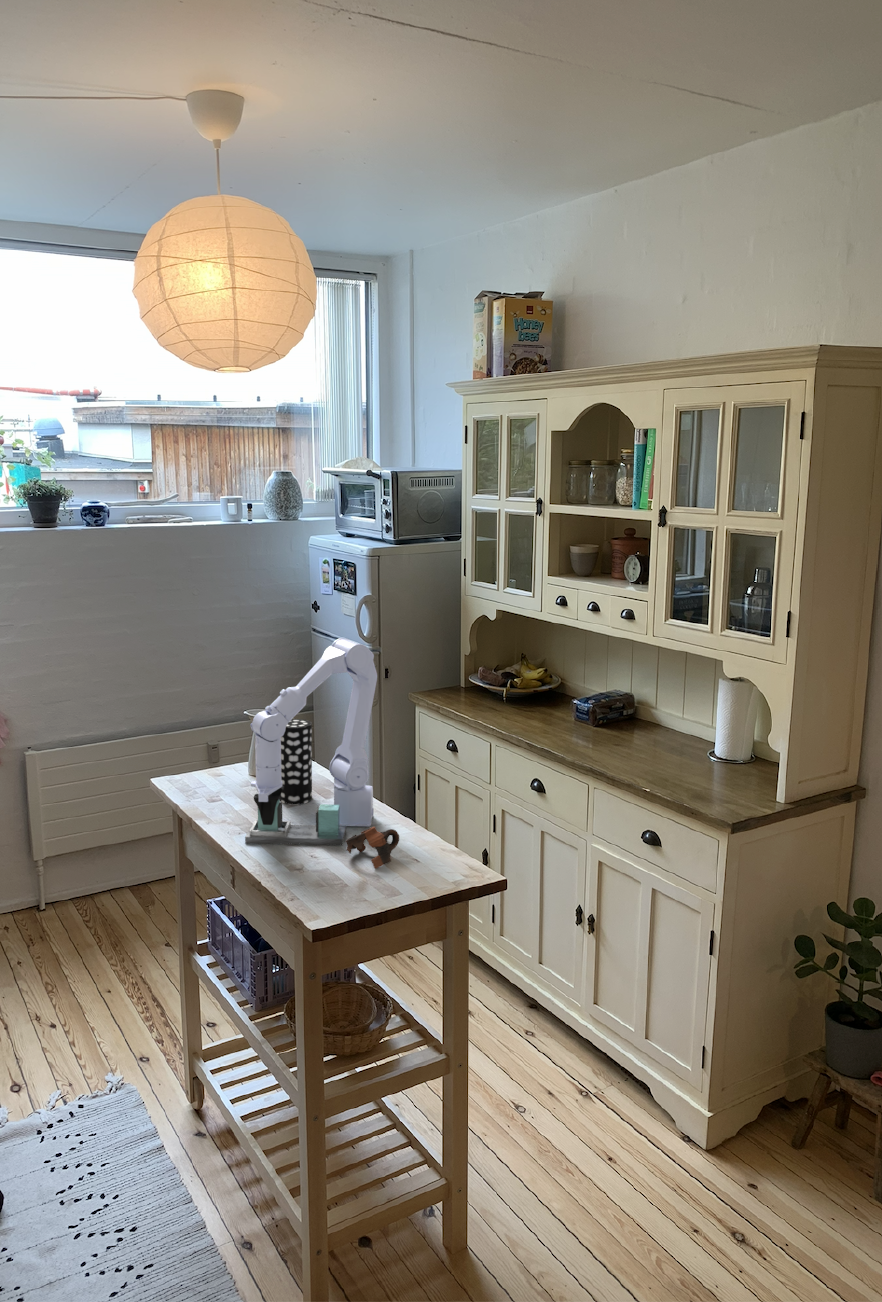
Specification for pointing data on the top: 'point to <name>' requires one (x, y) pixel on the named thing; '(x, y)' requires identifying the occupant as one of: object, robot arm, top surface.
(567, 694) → the top surface
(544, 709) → the top surface
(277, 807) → the pale aqua cube
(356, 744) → the robot arm
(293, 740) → the white-spotted black cylinder
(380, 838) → the brown looped piece
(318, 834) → the grey long flat piece
